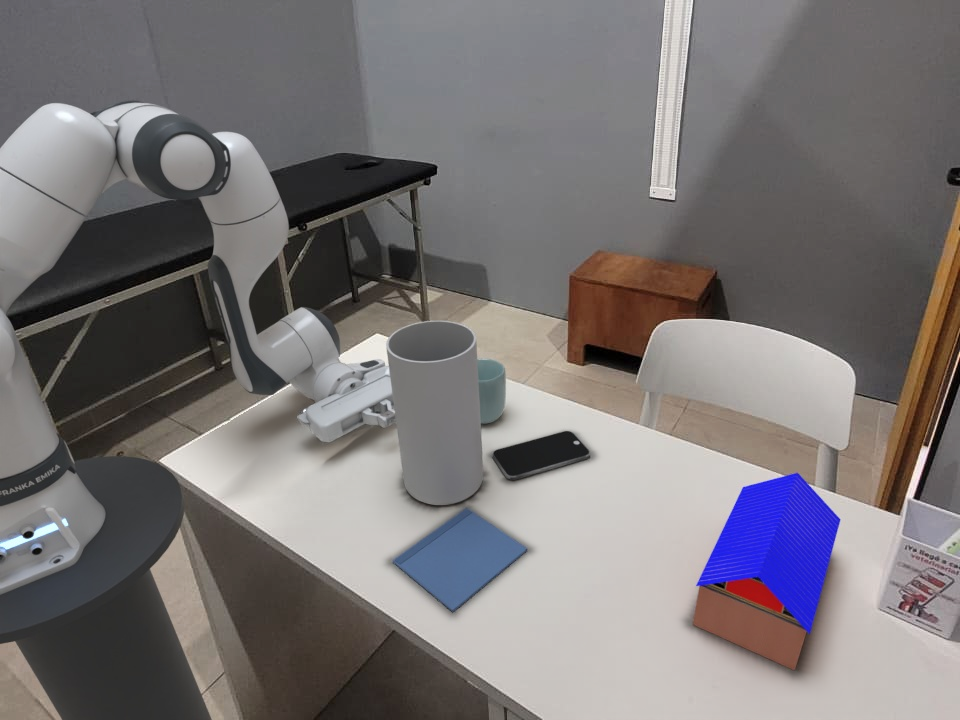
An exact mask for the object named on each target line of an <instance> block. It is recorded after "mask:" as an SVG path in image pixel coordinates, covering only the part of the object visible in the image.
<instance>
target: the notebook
mask: <svg viewBox="0 0 960 720" xmlns="http://www.w3.org/2000/svg"><path fill="white" fill-rule="evenodd" d="M527 551H528V547H526V546H525V545H523V544H522V543H520V542H519V541H517V540H516V539H514V538H513V537H511V536H510V535H508V534H507V533H505V532H504V531H502V530H501V529H499V528H498V527H497V526H495V525H493V524H492V523H490V522H489V521H487V520H486V519H484V518H483V517H481V516H480V515H479V514H477V513H475V512H474V511H473V510H471V509H469V508H468V507H466V508H464V509H463V510H461V511H460V512H458V513H457V514H456V515H454V516H453V517H451V518H450V519H449V520H447V521H446V522H444V523H443V524H441V525H439V527H437V528H436V529H435V530H433V531H431V532H430V533H428V534H427V535H426V536H425V537H423V538H422V539H420V540H419V541H418V542H416V543H414V545H412V546H410V547H409V548H408V549H407V550H405V551H403V552H402V553H401V554H399V555H398V556H396V557H395V558H394V559H392V563H393V564H394V565H395V566H397V567H398V568H399V569H400V570H401V571H403V572H404V573H405V574H406V575H407V576H409V578H410V579H412V580H413V581H414V582H416V583H417V585H419V586H420V587H422V588H423V589H424V590H425V591H427V592H428V593H429V594H430V595H431V596H432V597H434V598H435V599H436V600H437V601H438V602H439V603H440V604H442V605H443V606H445V607H446V608H447V609H448V610H449V611H450V612H452V613H454V612H455V611H456V610H458V609H459V608H460V607H461V606H463V605H464V604H465V603H466V602H467V601H469V600H470V599H471V598H472V597H474V595H476V594H477V593H478V592H480V591H481V590H482V589H483V588H484V587H485V586H486V585H488V584H489V583H490V582H491V581H493V580H494V579H495V578H496V577H497V576H499V575H500V574H501V573H502V572H503V571H505V570H506V569H507V568H508V567H509V566H511V565H512V564H513V563H514V562H515V561H516V560H518V559H519V558H521V556H522V555H524V554H525V553H526V552H527Z"/></svg>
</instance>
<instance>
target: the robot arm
mask: <svg viewBox="0 0 960 720" xmlns="http://www.w3.org/2000/svg"><path fill="white" fill-rule="evenodd" d="M255 147H256V146H254V144H253V143H252V141H250V139H248V138H247V137H246V136H245V135H243V134H240V133H237V132H232V131H217V132H214V133H212V132H210V131H209V130H208V129H207V128H205V127H204V126H203V125H202V124H201V123H200V122H197V121H196V120H195V119H193V118H191V117H188V116H186V115H182V114H179V113H177V112H175V111H174V110H172V109H170V108H168V107H165V106H162V105H159V104H154V103H148V102H143V101H140V100H133V99H131V100H122V101H117V102H114V103H111V104H109V105H107V106H105V107H102V108H100V109H98V110H95V111H92V112H90V113H89V112H87V111H86V110H84V109H82V108H80V107H77V106H74V105H70V104H66V103H63V102H62V103H61V102H52V103H51V102H50V103H47V104H44V105H42V106H40V107H39V108H38V109H37V110H36V111H34V112H33V113H32V114H31V115H30V116H29V117H28V118H27V119H25V120H24V121H23V122H22V124H20V125H19V126H18V127H17V128H16V129H15V131H14V132H13V133H11V135H10V136H9V137H8V138H7V140H6V141H5V142H4V143H3V144H2V145H1V147H0V595H1V594H4V593H6V592H9V591H11V590H13V589H16V588H18V587H21V586H23V585H26V584H28V583H31V582H33V581H36V580H38V579H41V578H43V577H46V576H48V575H51V574H53V573H56V572H58V571H61V570H63V569H66V568H68V567H70V566H72V565H74V564H75V563H76V562H77V561H78V560H79V558H80V556H81V554H82V552H83V549H84V547H85V546H86V545H87V544H88V543H89V542H90V541H91V540H92V539H93V537H94V536H95V535H96V534H97V533H98V532H99V530H100V529H101V527H102V525H103V523H104V520H105V509H104V507H103V506H102V505H101V504H100V503H99V502H98V501H97V500H96V499H95V498H94V497H93V496H92V495H91V493H90V492H89V491H88V489H87V488H86V487H85V485H84V484H83V483H82V481H81V480H80V478H79V476H78V475H77V473H76V468H75V465H74V464H75V463H74V461H75V460H74V458H73V455H72V453H71V450H70V449H69V447H68V445H67V442H66V441H65V440H64V439H63V437H62V436H61V435H60V433H58V432H56V429H55V427H54V425H53V422H52V421H51V418H50V415H49V414H48V411H47V409H46V407H45V404H44V402H43V400H42V398H41V396H40V393H39V390H38V388H37V386H36V383H35V379H34V377H33V374H32V372H31V369H30V366H29V364H28V361H27V358H26V356H25V353H24V351H23V348H22V346H21V344H20V341H19V338H18V336H17V333H16V331H15V329H14V326H13V324H12V322H11V320H10V319H9V318H8V315H7V312H8V311H9V309H10V307H11V306H12V305H13V303H14V302H15V301H16V300H17V299H18V298H19V297H20V296H21V295H22V294H23V293H24V292H25V291H26V290H27V289H28V288H29V287H30V286H31V285H32V284H33V283H34V282H35V281H36V280H37V279H38V278H40V277H41V276H43V275H45V274H46V273H48V272H49V271H50V270H52V269H53V268H54V267H55V265H56V264H57V262H58V261H59V259H60V258H61V256H62V255H63V253H64V252H65V250H66V249H67V247H68V245H69V244H70V243H71V241H72V240H73V238H74V237H75V236H76V234H77V232H78V231H79V230H80V228H81V226H82V225H83V224H84V221H85V220H87V217H88V215H89V214H90V213H91V211H92V210H93V208H94V206H95V205H96V203H97V201H98V199H99V198H100V196H102V195H103V193H105V191H106V190H109V188H110V187H112V186H113V185H115V184H117V183H119V182H121V181H126V180H127V181H128V182H129V183H130V184H132V185H133V186H135V187H137V188H139V189H142V190H144V191H146V192H150V193H152V194H154V195H157V196H158V197H162V198H165V199H168V200H172V201H173V200H175V201H188V200H194V199H197V198H198V200H199V201H200V202H201V205H202V208H203V210H204V212H205V214H206V217H207V218H208V220H209V222H210V225H211V229H212V233H213V251H212V255H211V257H210V258H209V260H208V262H207V273H208V279H209V284H210V288H211V292H212V295H213V299H214V302H215V305H216V306H215V307H216V310H217V313H218V316H219V319H220V323H221V326H222V330H223V332H224V336H225V339H226V343H227V347H228V353H229V354H228V355H229V361H230V365H231V366H230V367H231V369H232V372H233V375H234V377H235V379H236V381H237V382H238V383H239V384H240V385H241V387H242V388H243V389H244V390H245V392H247V393H249V394H253V395H256V396H274V395H275V394H276V393H277V392H279V391H280V390H281V389H282V388H283V387H285V386H286V385H287V383H289V384H290V385H292V387H293V388H294V389H296V391H298V392H299V393H301V394H302V395H303V396H305V397H306V398H307V399H309V400H314V402H315V403H313V404H311V405H309V406H308V407H304V408H303V409H301V410H300V413H298V415H297V421H298V422H299V423H300V424H302V425H303V426H306V427H308V428H309V430H310V431H311V433H312V434H313V435H314V436H315V437H316V438H317V439H318V440H319V441H321V442H323V443H332V442H333V441H335V440H337V439H339V438H341V437H343V436H344V435H347V434H348V433H350V432H352V431H354V430H356V429H358V428H360V427H362V426H364V425H365V424H366V425H368V426H369V425H370V426H380V427H381V428H383V429H386V428H388V427H390V426H392V425H393V424H396V417H395V410H394V402H393V394H392V387H391V379H390V371H389V365H386V362H385V361H384V360H383V359H381V358H374V359H371V360H367V361H363V362H356V363H355V362H354V363H345V362H341V360H340V357H341V339H340V335H339V332H338V330H337V328H336V326H335V325H334V323H333V322H332V321H331V320H330V319H329V318H328V317H327V316H326V315H325V314H323V312H320V311H318V310H317V309H313V308H311V307H307V306H301V307H299V308H297V309H295V310H294V311H291V312H290V313H289V314H287V315H285V316H284V317H282V318H280V319H279V320H278V321H277V322H275V323H273V324H272V325H270V326H269V327H267V328H266V329H264V330H262V331H261V332H259V333H257V331H256V330H257V329H256V327H255V321H254V319H253V314H252V311H251V308H250V297H251V293H252V291H253V289H254V287H255V285H256V284H257V282H258V281H259V279H260V278H261V277H262V275H263V273H264V272H265V271H266V270H267V269H268V268H269V267H270V265H271V264H272V263H273V262H274V261H275V260H276V259H277V258H278V257H279V255H280V254H281V253H282V251H283V250H284V247H285V245H286V243H287V240H288V237H289V233H290V224H289V218H288V214H287V211H286V209H285V205H284V203H283V201H282V198H281V196H280V193H279V191H278V189H277V186H276V184H275V181H274V179H273V177H272V174H271V173H270V171H269V169H268V167H267V165H266V164H265V162H264V161H263V158H262V157H261V155H260V153H259V151H258V150H257V149H256V148H255Z"/></svg>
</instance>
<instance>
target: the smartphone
mask: <svg viewBox="0 0 960 720" xmlns="http://www.w3.org/2000/svg"><path fill="white" fill-rule="evenodd" d="M491 456H492V457H491V458H492V459H493V461H494V462H495V464H496V465H497V467H498V468H499V470H500V472H502V474H503V475H504V477H505V478H506V479H508V480H510V481H514V480H515V481H516V480H519V479H522V478H525V477H529V476H533V475H536V474H540V473H543V472H546V471H549V470H554V469H557V468H560V467H564V466H566V465H570V464H575V463H577V462H581V461H583V460H587V459H589V458H591V457H590V456H591V451H590V450H589V449H588V448H587V447H586V445H585V444H584V443H583V442H582V441H581V440H580V438H579V437H577V436H576V434H575V433H574V432H572V431H570V430H564V431H561V432H556V433H553V434H551V435H546V436H542V437H539V438H535V439H531V440H527V441H524V442H520V443H516V444H513V445H509V446H506V447H502V448H498V449H496V450H494V451H493V452H492V455H491Z"/></svg>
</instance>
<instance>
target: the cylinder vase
mask: <svg viewBox="0 0 960 720" xmlns="http://www.w3.org/2000/svg"><path fill="white" fill-rule="evenodd" d="M477 344H478V343H477V335H476V332H475V331H473V329H472V328H470V327H469V326H467V325H464V324H462V323H459V322H456V321H451V320H450V321H449V320H425V321H419V322H415V323H410V324H407V325H405V326H403V327H400V328H399V329H397V330H395V331H394V332H392V334H390V335H389V337H388V338H387V340H386V342H385V347H386V355H387V362H388V364H387V365H388V366H389V371H390V379H391V387H392V394H393V402H394V409H393V410H394V411H395V417H396V422H395V424H396V433H397V440H398V447H399V455H400V463H401V471H402V479H403V485H404V487H405V489H406V491H407V493H408V494H409V495H410V496H411V497H412V498H414V499H415V500H417V501H419V502H421V503H424V504H428V505H434V506H448V505H454V504H457V503H460V502H463V501H465V500H466V499H469V498H470V497H471V496H472V495H474V494H475V493H476V492H477V491H478V490H479V488H480V487H481V485H482V483H483V480H484V462H483V461H484V460H483V443H482V424H481V420H480V401H479V382H478V363H477V359H478V347H477V346H478V345H477Z"/></svg>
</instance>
